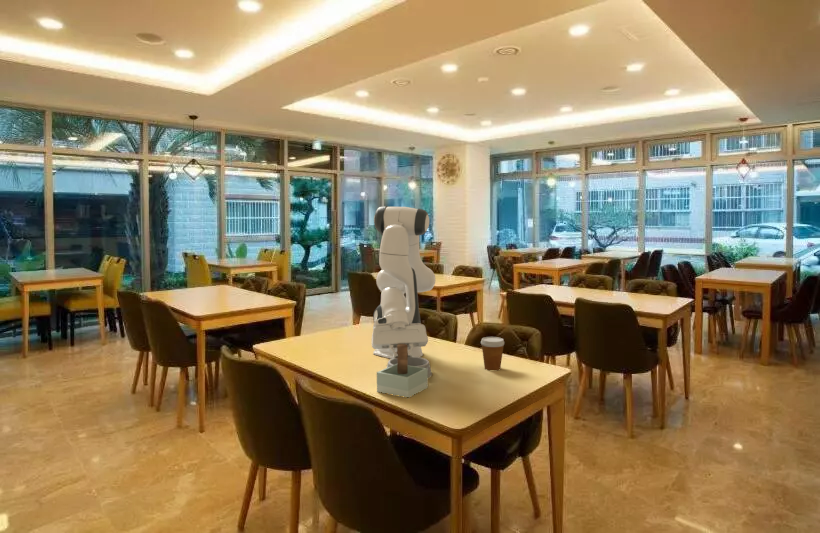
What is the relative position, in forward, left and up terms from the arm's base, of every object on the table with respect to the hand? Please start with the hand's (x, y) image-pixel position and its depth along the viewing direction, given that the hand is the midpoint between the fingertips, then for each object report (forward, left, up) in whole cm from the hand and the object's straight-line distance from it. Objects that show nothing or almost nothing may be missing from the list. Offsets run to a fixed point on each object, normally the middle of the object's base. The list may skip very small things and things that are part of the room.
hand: (402, 357), depth 184 cm
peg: (0, 0, -6) cm, 6 cm away
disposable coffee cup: (+16, +41, -12) cm, 46 cm away
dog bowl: (-9, +18, -13) cm, 24 cm away
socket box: (-1, +1, -12) cm, 12 cm away
